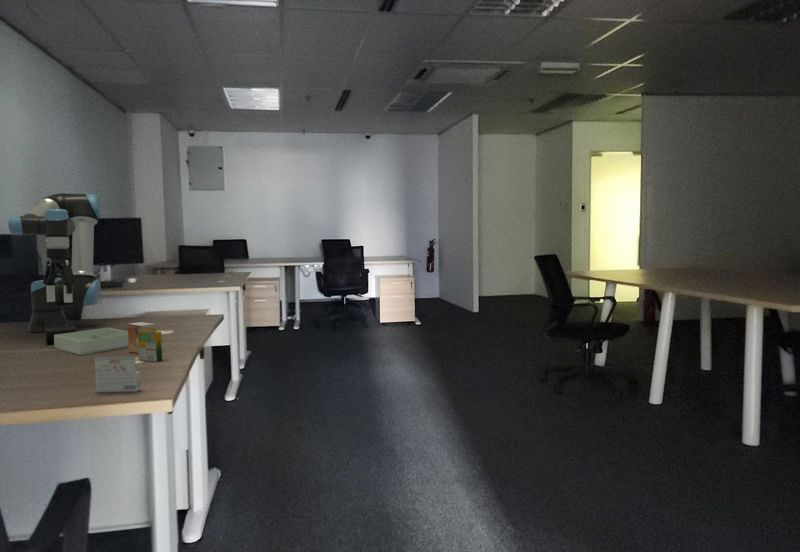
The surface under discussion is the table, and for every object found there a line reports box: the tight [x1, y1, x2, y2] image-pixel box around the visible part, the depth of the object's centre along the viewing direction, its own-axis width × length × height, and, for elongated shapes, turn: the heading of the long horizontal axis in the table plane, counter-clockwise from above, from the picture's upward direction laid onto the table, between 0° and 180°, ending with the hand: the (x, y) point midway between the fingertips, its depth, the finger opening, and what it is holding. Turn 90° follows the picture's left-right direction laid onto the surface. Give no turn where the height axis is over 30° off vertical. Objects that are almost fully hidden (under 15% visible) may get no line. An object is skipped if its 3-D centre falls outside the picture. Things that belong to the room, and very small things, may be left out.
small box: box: [127, 321, 156, 355], centre depth 190 cm, size 8×6×10 cm
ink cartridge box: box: [93, 355, 141, 393], centre depth 141 cm, size 2×11×10 cm, turn 92°
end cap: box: [44, 324, 77, 345], centre depth 208 cm, size 10×7×7 cm
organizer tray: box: [53, 327, 129, 356], centre depth 199 cm, size 22×20×5 cm
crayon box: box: [138, 326, 163, 362], centre depth 177 cm, size 7×3×12 cm, turn 74°
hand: (59, 302), depth 206 cm, fingers open, 13 cm apart
